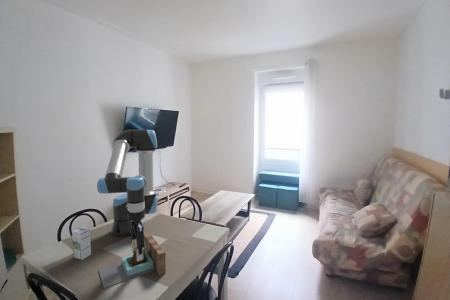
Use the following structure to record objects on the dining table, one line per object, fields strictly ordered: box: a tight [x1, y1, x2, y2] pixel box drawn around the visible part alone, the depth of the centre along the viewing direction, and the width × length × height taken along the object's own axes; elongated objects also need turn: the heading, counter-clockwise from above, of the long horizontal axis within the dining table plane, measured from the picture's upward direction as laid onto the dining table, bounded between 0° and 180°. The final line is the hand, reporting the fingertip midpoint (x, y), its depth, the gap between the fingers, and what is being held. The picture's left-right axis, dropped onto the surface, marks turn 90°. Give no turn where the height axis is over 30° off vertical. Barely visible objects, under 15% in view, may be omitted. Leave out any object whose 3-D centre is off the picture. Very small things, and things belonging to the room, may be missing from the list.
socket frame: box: [121, 251, 154, 277], centre depth 109 cm, size 12×12×3 cm
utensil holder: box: [132, 239, 145, 267], centre depth 110 cm, size 6×6×12 cm
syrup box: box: [71, 226, 92, 261], centre depth 117 cm, size 6×6×14 cm
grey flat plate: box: [98, 261, 156, 289], centre depth 107 cm, size 14×22×1 cm, turn 126°
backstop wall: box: [143, 231, 167, 276], centre depth 114 cm, size 24×3×10 cm, turn 36°
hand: (137, 255), depth 109 cm, fingers open, 7 cm apart
